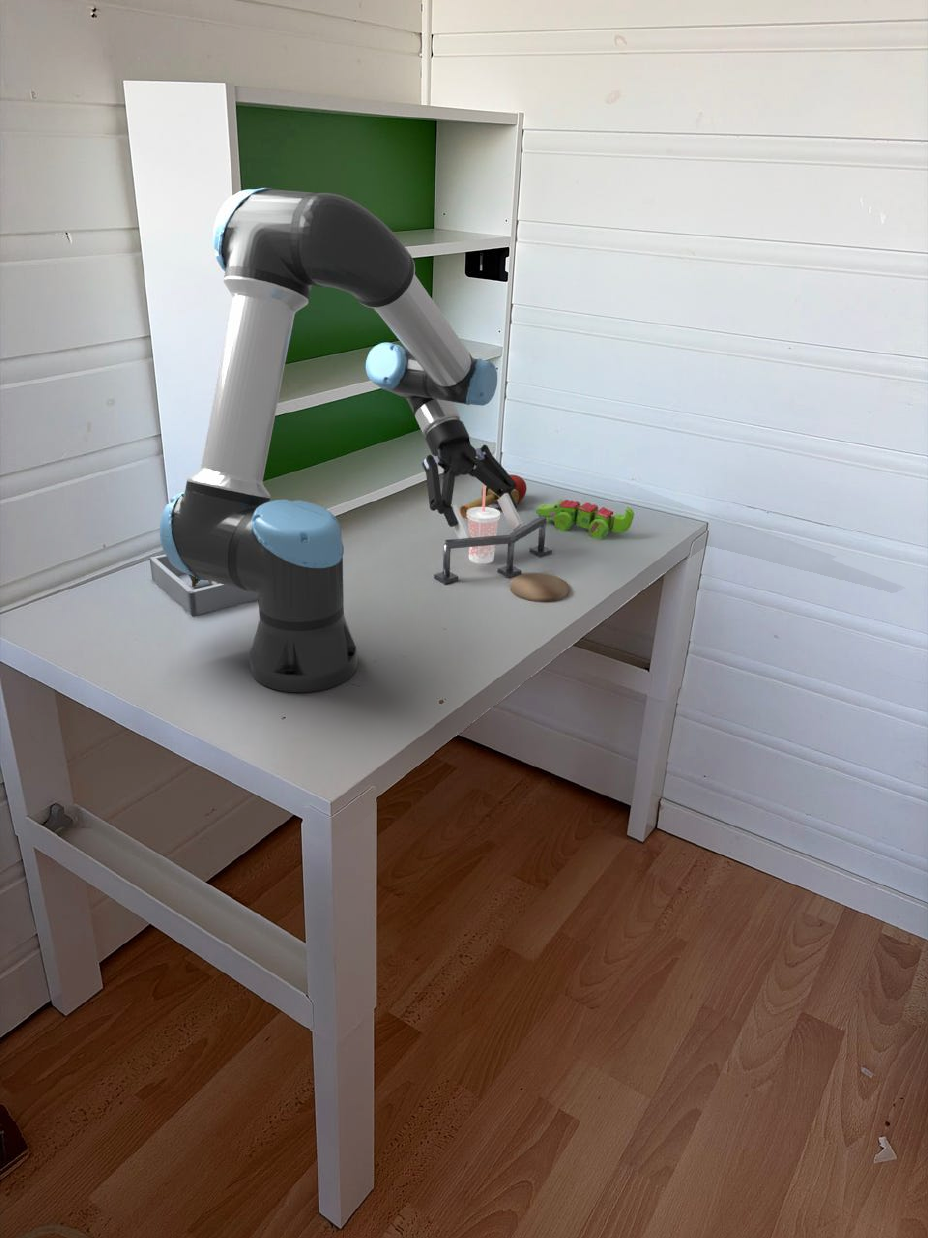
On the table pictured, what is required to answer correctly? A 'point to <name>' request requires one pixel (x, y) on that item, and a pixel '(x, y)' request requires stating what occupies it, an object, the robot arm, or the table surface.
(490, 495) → the kendama
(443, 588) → the table surface
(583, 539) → the table surface
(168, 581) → the slate open-top tray
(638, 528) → the table surface
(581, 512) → the toy crocodile
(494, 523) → the beverage cup
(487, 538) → the bent rail
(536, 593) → the walnut pad
